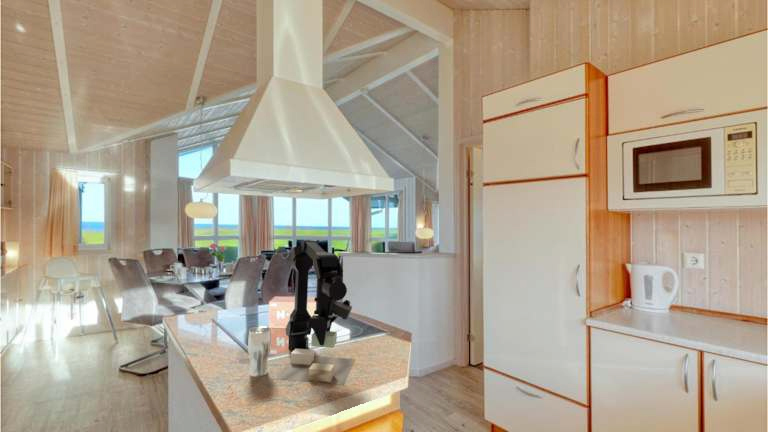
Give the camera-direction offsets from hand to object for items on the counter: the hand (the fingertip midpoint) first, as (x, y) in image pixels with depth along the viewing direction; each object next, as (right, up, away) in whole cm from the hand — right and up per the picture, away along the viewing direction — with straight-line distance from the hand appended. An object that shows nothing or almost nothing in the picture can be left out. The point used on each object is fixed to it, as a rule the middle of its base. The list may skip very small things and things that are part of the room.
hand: (323, 342), depth 114 cm
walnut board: (-3, -12, +6) cm, 14 cm away
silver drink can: (-22, -12, +2) cm, 25 cm away
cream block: (-10, -11, +12) cm, 19 cm away
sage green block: (0, -1, 0) cm, 1 cm away
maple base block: (-1, -11, 0) cm, 11 cm away
